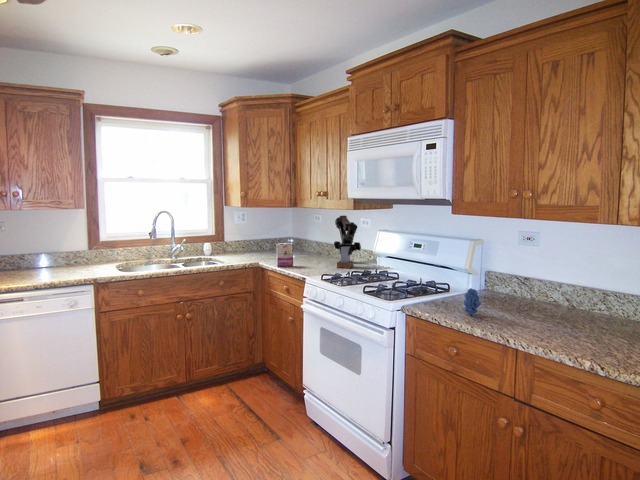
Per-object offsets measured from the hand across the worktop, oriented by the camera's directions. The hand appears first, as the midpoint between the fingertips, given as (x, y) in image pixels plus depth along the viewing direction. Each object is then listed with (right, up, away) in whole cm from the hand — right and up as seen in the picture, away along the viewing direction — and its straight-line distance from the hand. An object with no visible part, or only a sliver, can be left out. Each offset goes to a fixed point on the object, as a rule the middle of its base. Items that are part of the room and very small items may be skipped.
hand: (344, 255), depth 310 cm
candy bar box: (-42, -8, +4) cm, 43 cm away
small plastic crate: (0, -6, +2) cm, 7 cm away
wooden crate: (0, -9, +2) cm, 9 cm away
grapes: (+48, -22, -121) cm, 132 cm away
